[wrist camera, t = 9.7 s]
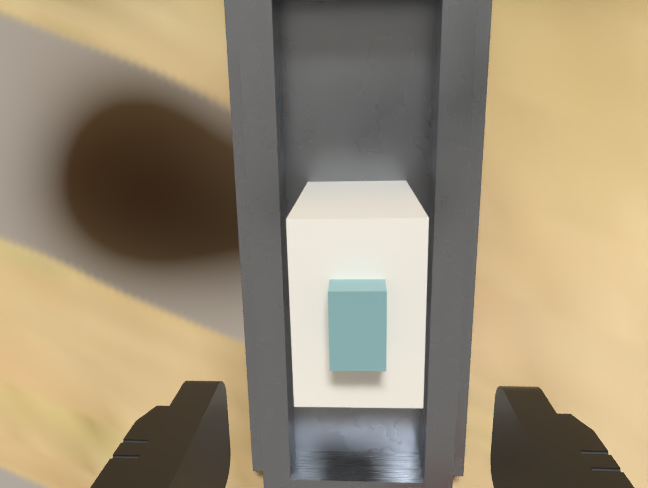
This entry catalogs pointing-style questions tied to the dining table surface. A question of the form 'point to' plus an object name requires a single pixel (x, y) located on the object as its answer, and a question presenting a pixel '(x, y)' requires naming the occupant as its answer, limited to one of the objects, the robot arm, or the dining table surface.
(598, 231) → the dining table surface
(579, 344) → the dining table surface
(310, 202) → the block
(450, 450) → the grey rectangular tray
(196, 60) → the dining table surface
